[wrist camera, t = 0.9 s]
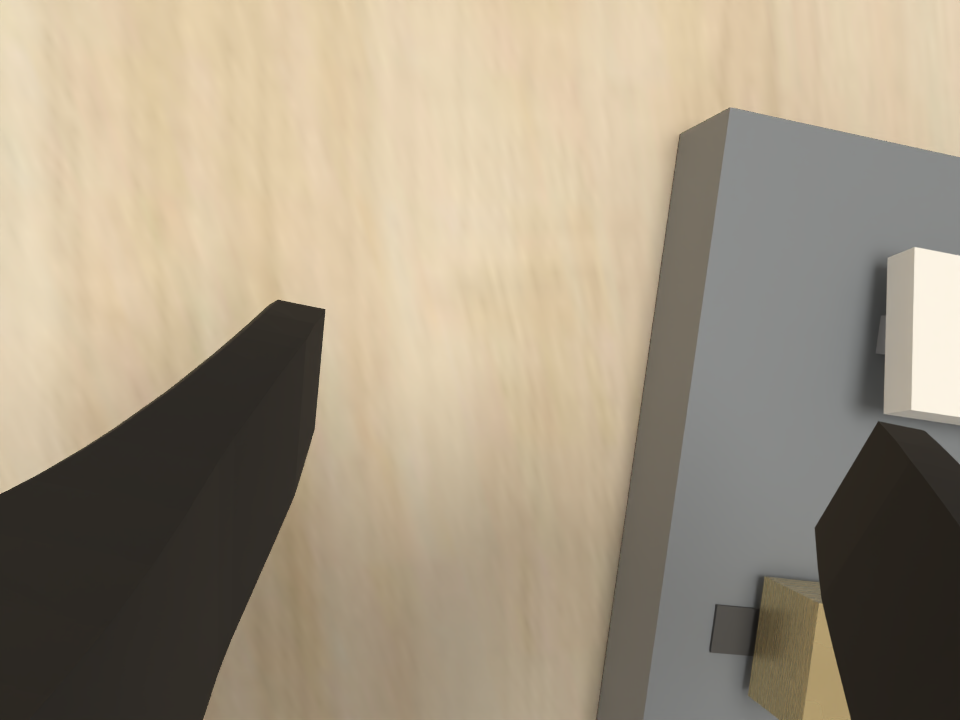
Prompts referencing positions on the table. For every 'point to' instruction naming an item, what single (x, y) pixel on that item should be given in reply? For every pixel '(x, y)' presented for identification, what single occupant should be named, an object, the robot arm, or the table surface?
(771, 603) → the brass slider knob
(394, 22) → the table surface
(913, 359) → the rocker switch
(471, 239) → the table surface
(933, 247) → the switch panel
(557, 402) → the table surface
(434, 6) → the table surface
